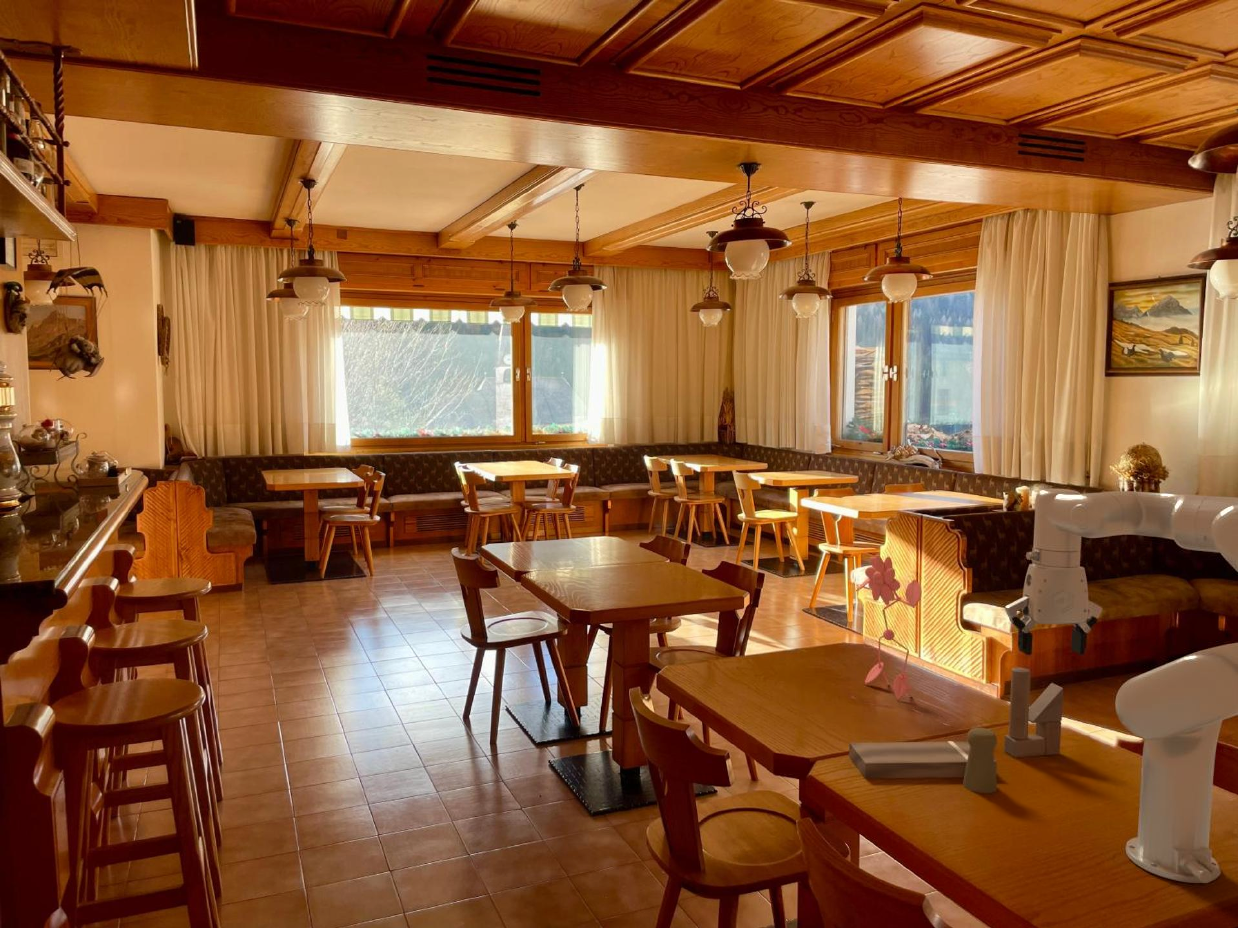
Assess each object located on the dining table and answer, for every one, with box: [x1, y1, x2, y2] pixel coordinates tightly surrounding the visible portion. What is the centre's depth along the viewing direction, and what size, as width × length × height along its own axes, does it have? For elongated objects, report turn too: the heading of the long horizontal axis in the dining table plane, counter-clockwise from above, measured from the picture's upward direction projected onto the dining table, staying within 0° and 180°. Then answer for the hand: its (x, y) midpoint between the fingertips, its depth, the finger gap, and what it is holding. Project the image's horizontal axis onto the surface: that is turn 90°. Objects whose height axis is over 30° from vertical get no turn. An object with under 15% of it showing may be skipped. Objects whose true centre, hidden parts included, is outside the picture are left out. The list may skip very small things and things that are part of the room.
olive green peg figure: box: [962, 727, 998, 794], centre depth 167 cm, size 6×6×11 cm
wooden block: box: [1003, 666, 1064, 758], centre depth 183 cm, size 4×11×18 cm, turn 102°
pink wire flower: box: [845, 554, 923, 708], centre depth 218 cm, size 15×26×35 cm, turn 19°
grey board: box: [848, 740, 998, 779], centre depth 176 cm, size 10×26×3 cm, turn 93°
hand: (1051, 652), depth 158 cm, fingers open, 9 cm apart
